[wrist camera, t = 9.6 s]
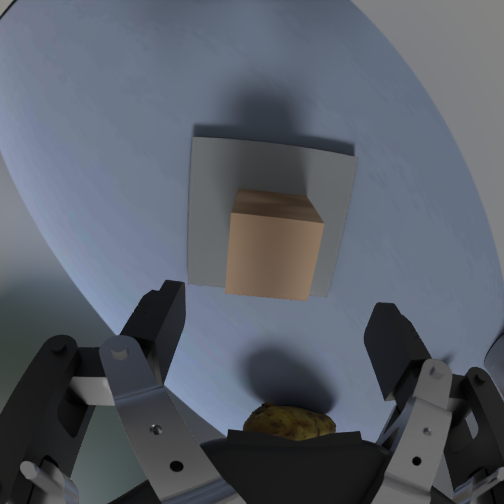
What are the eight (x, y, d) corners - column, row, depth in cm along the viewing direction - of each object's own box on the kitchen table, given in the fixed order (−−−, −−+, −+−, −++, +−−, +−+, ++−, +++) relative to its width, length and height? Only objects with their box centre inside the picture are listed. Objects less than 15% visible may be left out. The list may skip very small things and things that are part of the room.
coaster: (354, 156, 20) (358, 157, 19) (325, 292, 25) (327, 297, 24) (194, 136, 19) (192, 136, 19) (190, 278, 24) (188, 283, 24)
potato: (286, 433, 36) (288, 478, 28) (233, 393, 31) (228, 449, 24) (338, 414, 33) (347, 462, 26) (294, 369, 29) (301, 429, 22)
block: (307, 196, 20) (324, 223, 15) (296, 257, 22) (307, 300, 17) (238, 188, 20) (231, 212, 15) (233, 251, 22) (225, 293, 17)
